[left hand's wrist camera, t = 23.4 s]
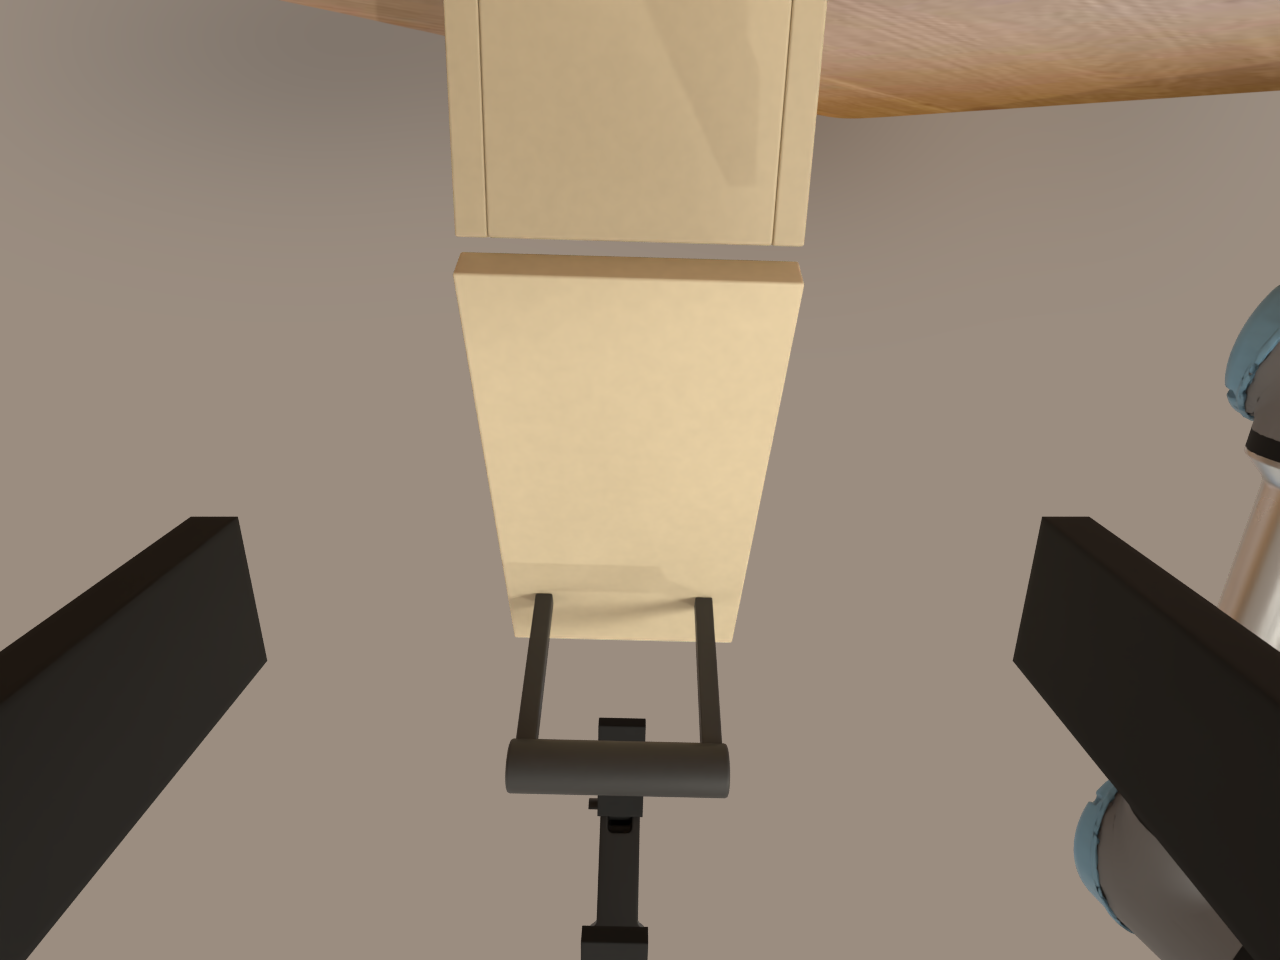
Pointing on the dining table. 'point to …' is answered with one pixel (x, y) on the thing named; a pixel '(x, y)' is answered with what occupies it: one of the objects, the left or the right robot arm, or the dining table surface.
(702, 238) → the chest
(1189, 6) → the dining table surface
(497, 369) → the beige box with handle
